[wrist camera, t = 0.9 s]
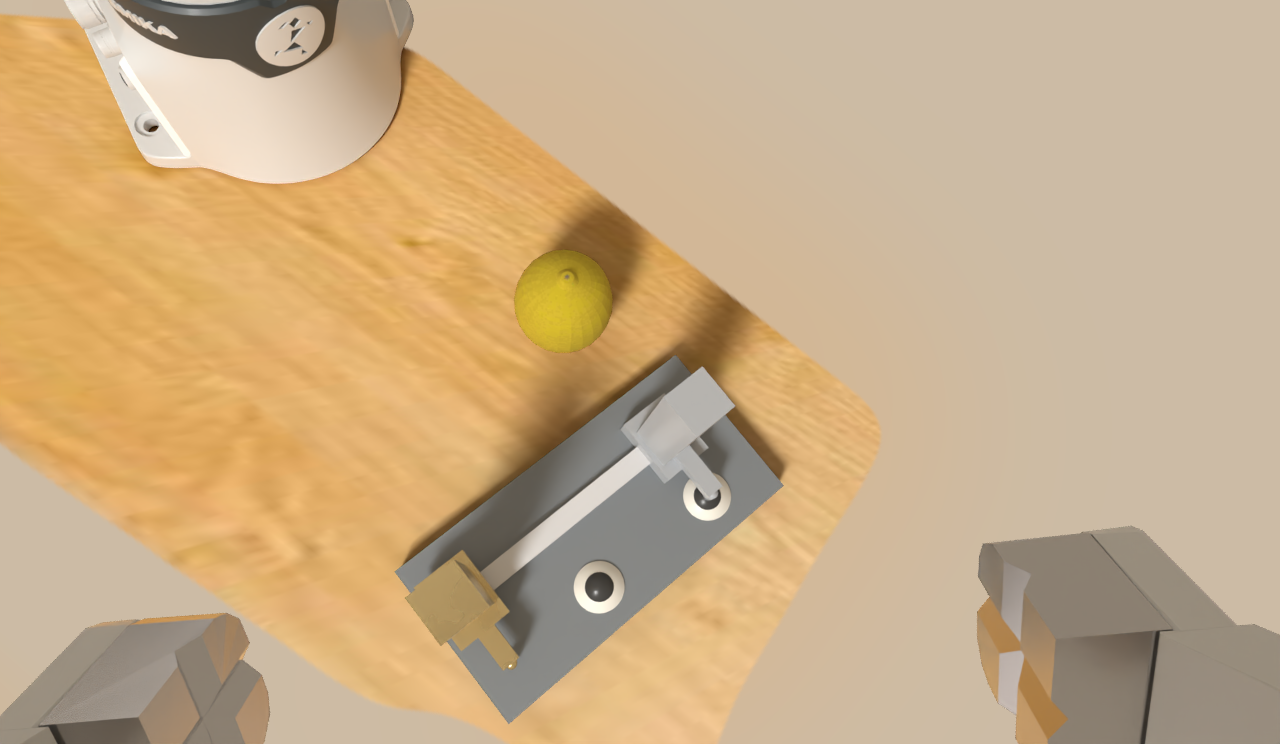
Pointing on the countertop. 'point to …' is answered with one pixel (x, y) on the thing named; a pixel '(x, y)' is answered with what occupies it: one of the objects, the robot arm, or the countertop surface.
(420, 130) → the countertop surface
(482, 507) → the board
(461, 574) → the brass leg
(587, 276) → the lemon
